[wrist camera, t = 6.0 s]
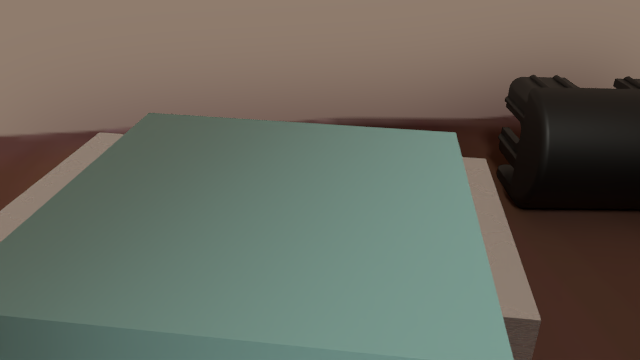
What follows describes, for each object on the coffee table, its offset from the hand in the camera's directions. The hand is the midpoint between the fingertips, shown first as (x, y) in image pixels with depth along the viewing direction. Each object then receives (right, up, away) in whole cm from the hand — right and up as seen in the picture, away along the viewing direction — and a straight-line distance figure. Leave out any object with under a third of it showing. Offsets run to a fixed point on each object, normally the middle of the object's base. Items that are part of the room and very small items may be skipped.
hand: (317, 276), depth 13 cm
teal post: (-1, -9, -2) cm, 9 cm away
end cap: (+15, +1, +19) cm, 24 cm away
